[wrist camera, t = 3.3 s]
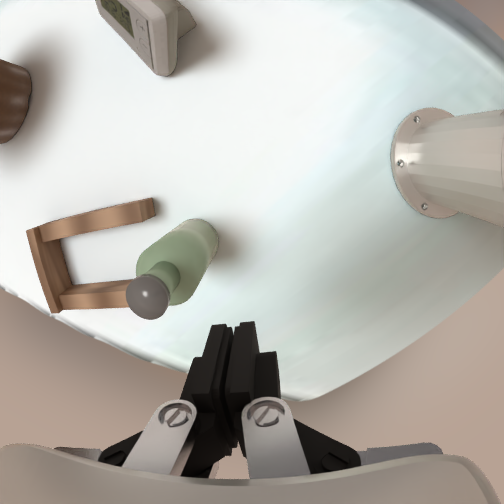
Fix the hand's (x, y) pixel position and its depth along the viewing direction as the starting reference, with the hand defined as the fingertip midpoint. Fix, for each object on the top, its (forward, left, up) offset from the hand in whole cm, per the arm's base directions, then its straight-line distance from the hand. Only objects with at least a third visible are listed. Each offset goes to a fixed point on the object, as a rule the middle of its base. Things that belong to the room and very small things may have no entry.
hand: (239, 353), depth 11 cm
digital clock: (+9, -26, -20) cm, 34 cm away
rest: (+18, 0, -20) cm, 27 cm away
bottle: (+7, 0, -20) cm, 21 cm away
